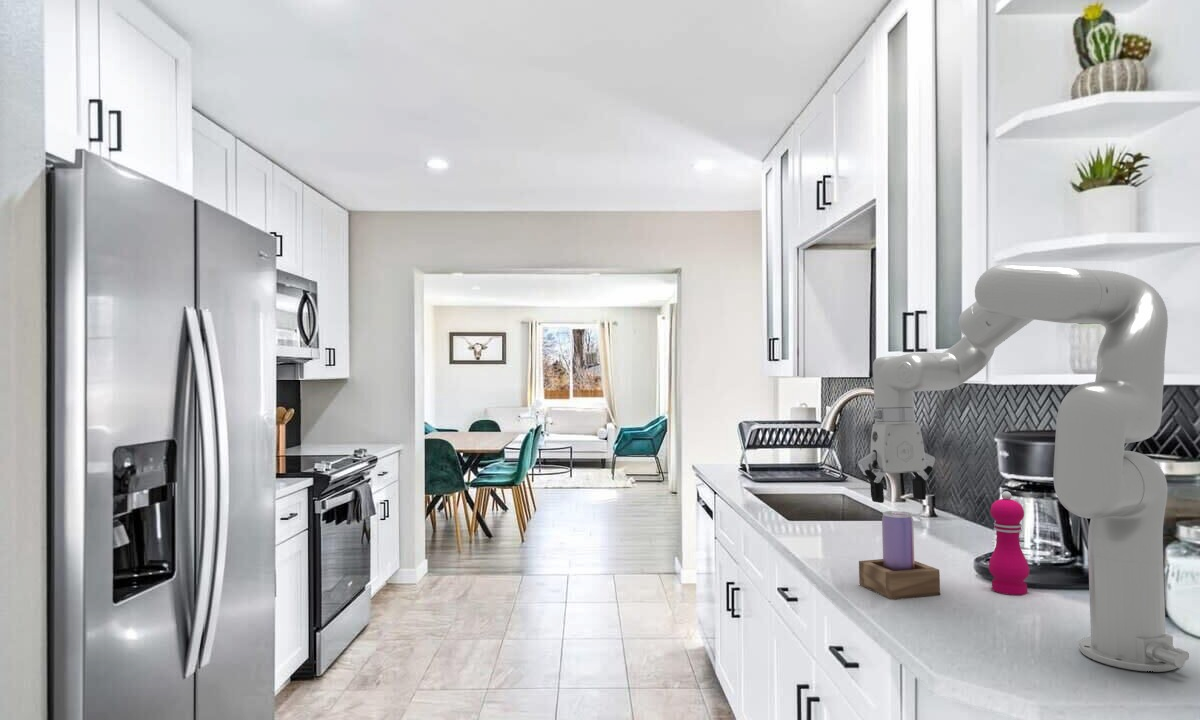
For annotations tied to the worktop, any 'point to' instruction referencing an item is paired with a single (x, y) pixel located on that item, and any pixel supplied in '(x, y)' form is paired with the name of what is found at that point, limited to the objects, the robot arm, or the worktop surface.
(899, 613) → the worktop surface
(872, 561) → the holder
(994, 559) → the pepper mill
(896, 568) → the beverage can
